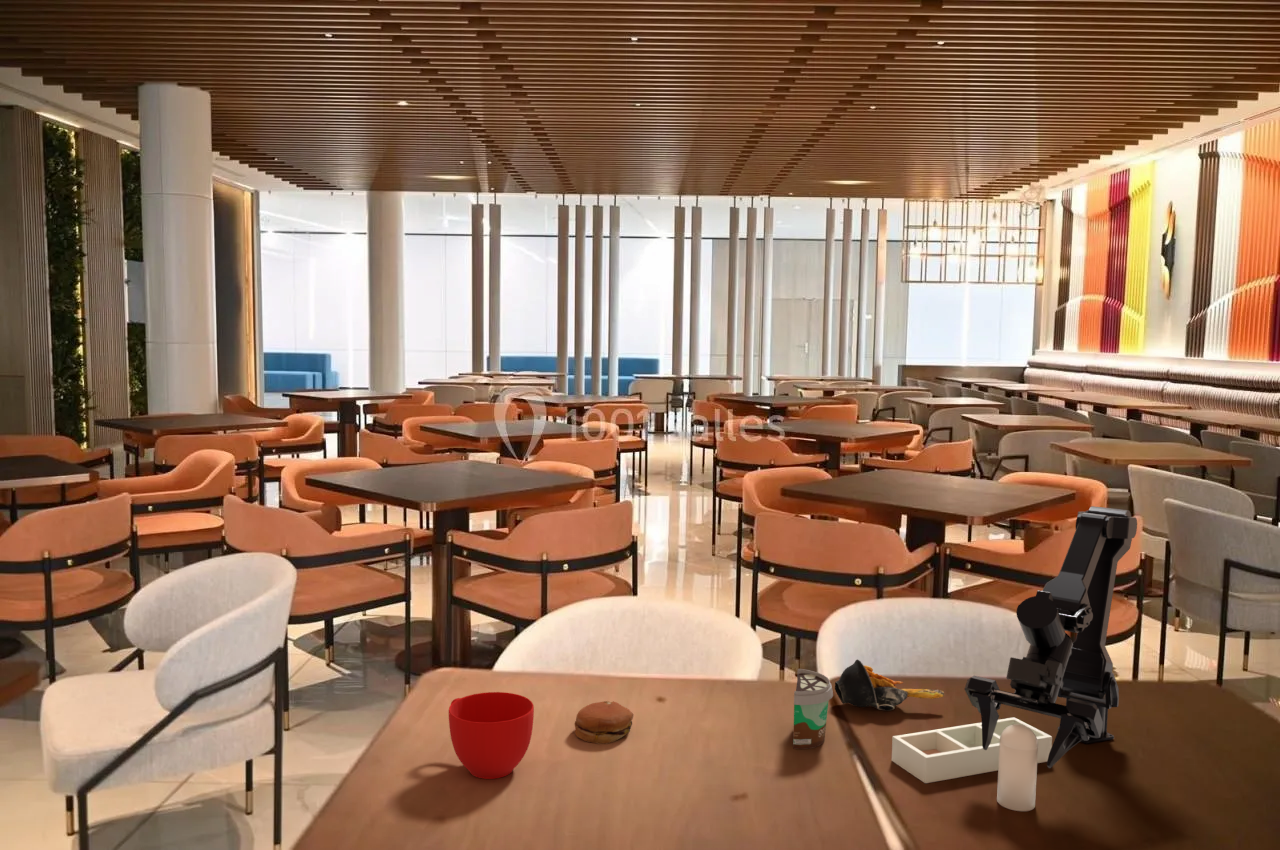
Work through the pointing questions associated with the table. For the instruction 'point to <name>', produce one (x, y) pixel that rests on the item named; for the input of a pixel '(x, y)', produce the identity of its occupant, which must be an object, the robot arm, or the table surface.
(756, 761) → the table surface
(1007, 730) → the cream capsule cylinder
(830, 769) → the table surface
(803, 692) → the food container
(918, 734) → the compartment tray
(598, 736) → the burger
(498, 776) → the ceramic cup
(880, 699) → the fried shrimp in bowl
